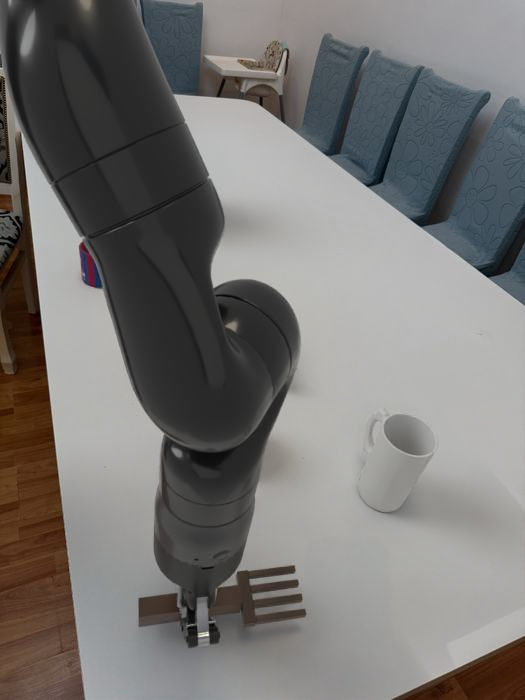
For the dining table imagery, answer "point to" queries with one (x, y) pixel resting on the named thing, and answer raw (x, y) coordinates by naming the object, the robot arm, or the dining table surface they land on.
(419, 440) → the mug
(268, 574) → the fork
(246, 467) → the robot arm
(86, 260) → the cup
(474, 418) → the dining table surface
